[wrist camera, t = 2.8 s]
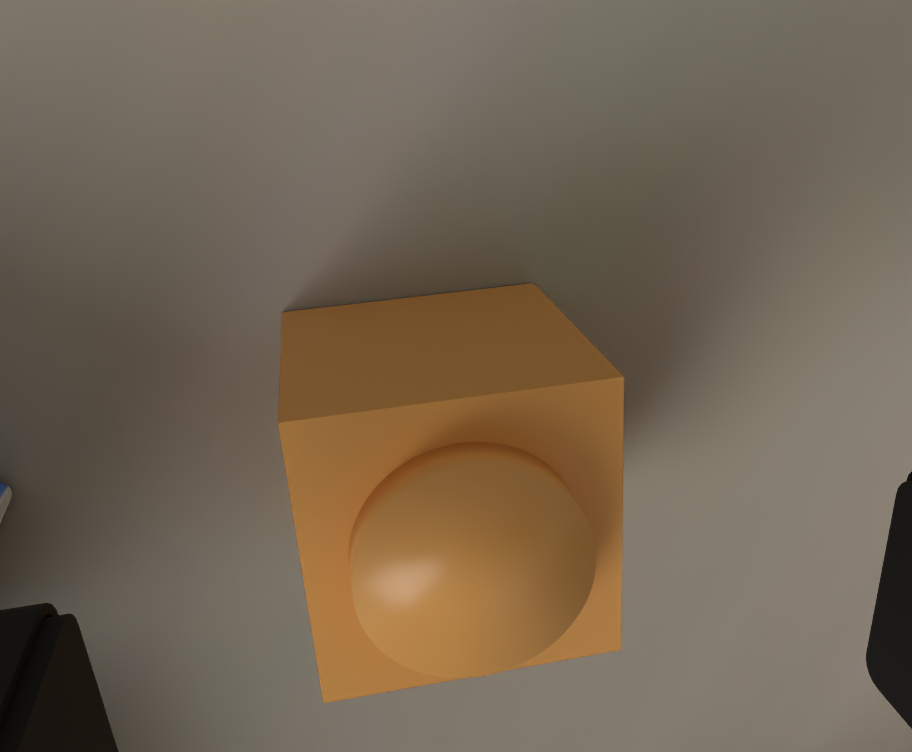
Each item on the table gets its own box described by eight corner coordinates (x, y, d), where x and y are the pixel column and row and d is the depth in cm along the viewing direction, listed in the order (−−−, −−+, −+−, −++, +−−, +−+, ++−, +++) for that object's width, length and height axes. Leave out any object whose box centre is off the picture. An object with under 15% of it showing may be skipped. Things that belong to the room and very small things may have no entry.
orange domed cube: (533, 283, 17) (645, 397, 12) (541, 498, 19) (638, 682, 14) (282, 312, 16) (276, 448, 11) (315, 532, 18) (325, 741, 13)
